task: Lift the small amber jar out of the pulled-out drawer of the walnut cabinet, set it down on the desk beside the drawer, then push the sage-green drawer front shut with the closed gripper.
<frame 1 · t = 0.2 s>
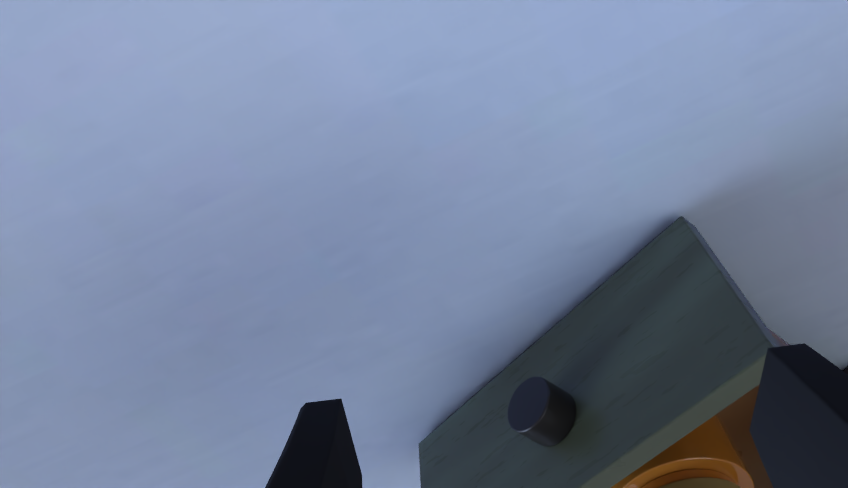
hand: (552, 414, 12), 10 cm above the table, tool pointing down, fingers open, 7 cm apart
jar: (650, 429, 25), point 1 cm above the table, touching drawer
drawer: (690, 487, 24), point 3 cm above the table, slide at 10.0 cm, touching jar
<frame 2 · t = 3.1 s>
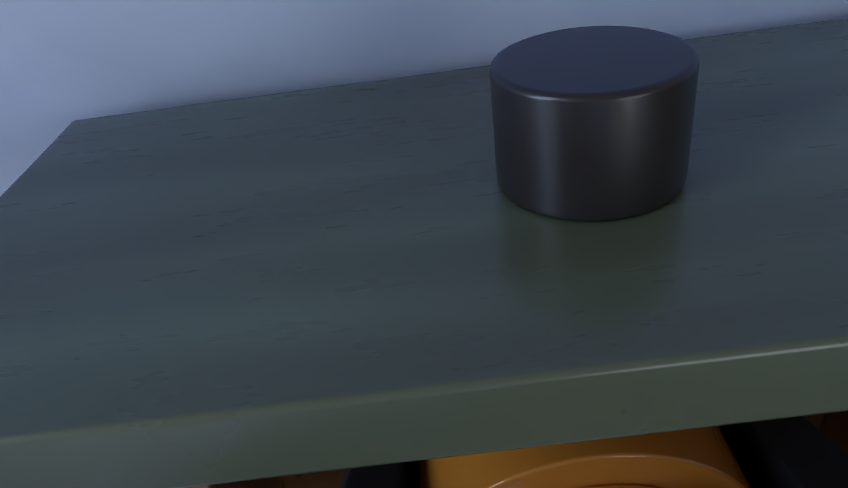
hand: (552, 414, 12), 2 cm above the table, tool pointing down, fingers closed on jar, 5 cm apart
jar: (546, 397, 12), point 1 cm above the table, touching drawer, gripper
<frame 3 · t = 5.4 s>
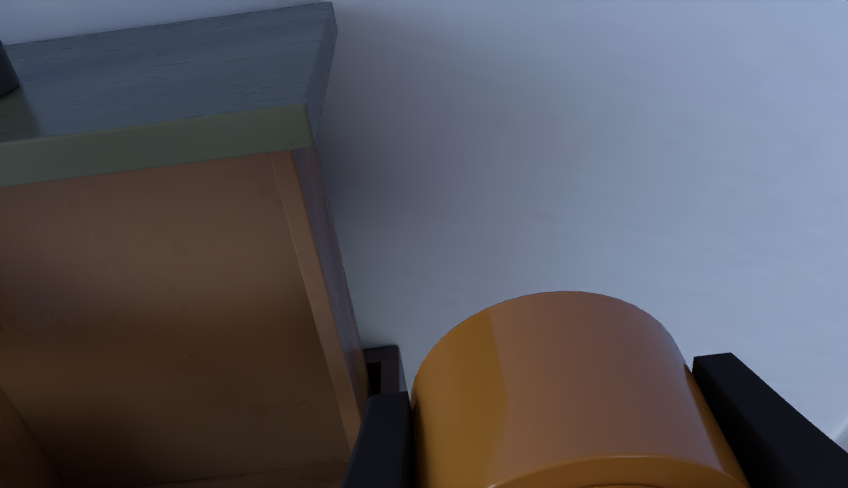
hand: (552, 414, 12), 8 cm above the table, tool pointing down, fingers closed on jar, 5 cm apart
jar: (546, 397, 12), point 8 cm above the table, touching gripper
drawer: (115, 352, 17), point 3 cm above the table, slide at 10.0 cm
when the fingers open (0 cm above the table, at t = 7.7 s): jar stays where it is, on the table.
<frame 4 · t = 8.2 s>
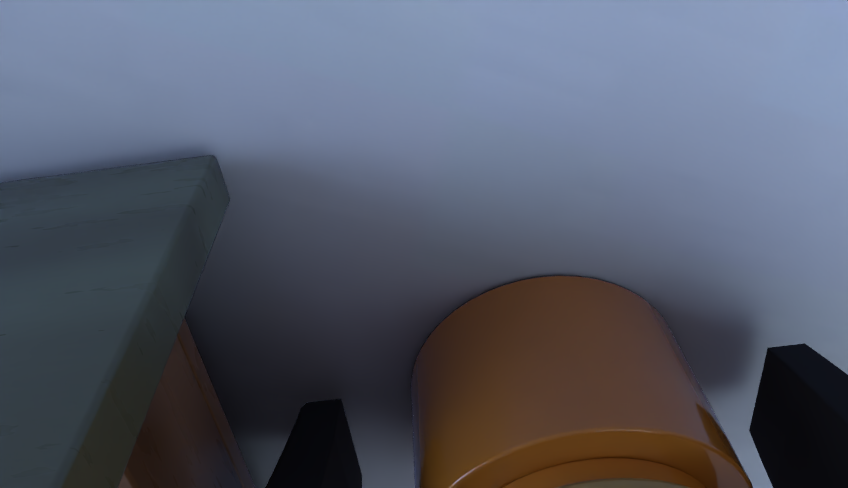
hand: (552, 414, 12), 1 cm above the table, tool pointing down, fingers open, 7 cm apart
jar: (542, 380, 12), on the table
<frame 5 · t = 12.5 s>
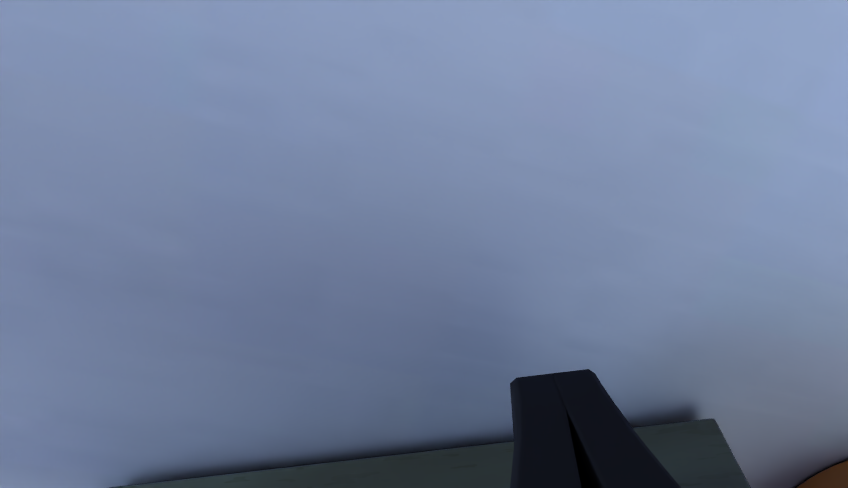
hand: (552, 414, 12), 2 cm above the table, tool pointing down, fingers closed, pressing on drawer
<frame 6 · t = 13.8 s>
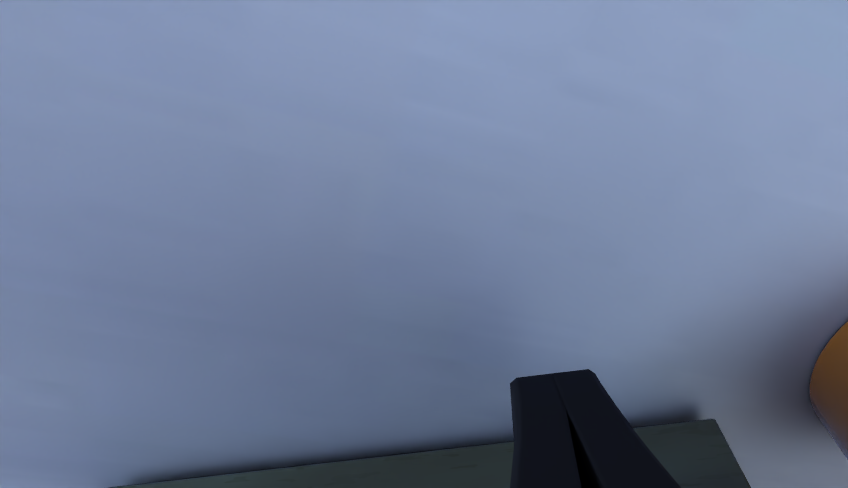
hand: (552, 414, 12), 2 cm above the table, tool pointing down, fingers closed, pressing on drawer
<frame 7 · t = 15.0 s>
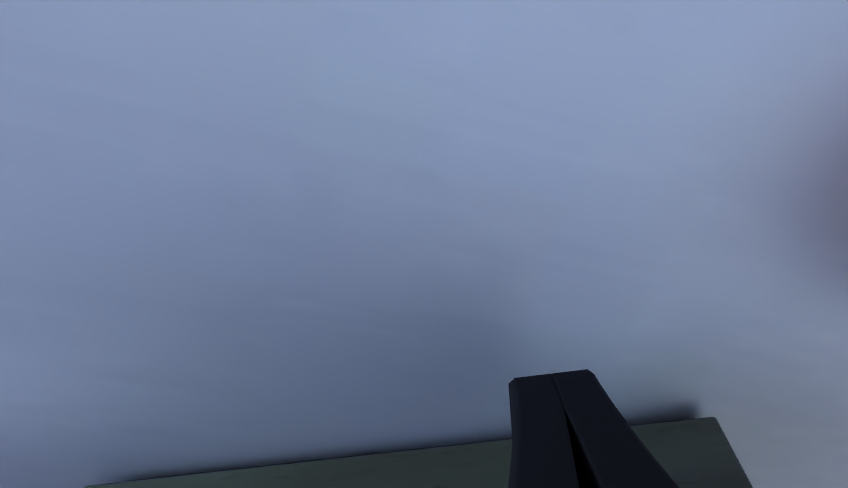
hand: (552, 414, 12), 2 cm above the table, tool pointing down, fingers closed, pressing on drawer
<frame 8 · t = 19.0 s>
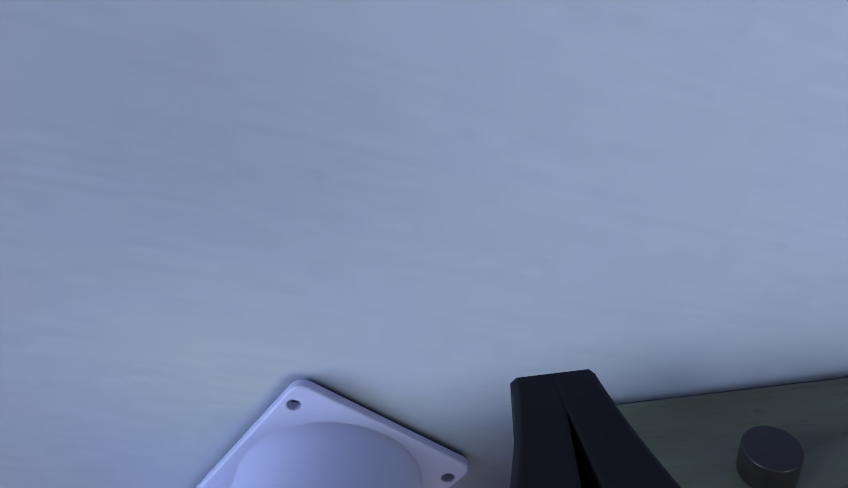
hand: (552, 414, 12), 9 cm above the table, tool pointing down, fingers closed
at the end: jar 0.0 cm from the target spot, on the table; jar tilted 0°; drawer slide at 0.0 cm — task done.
